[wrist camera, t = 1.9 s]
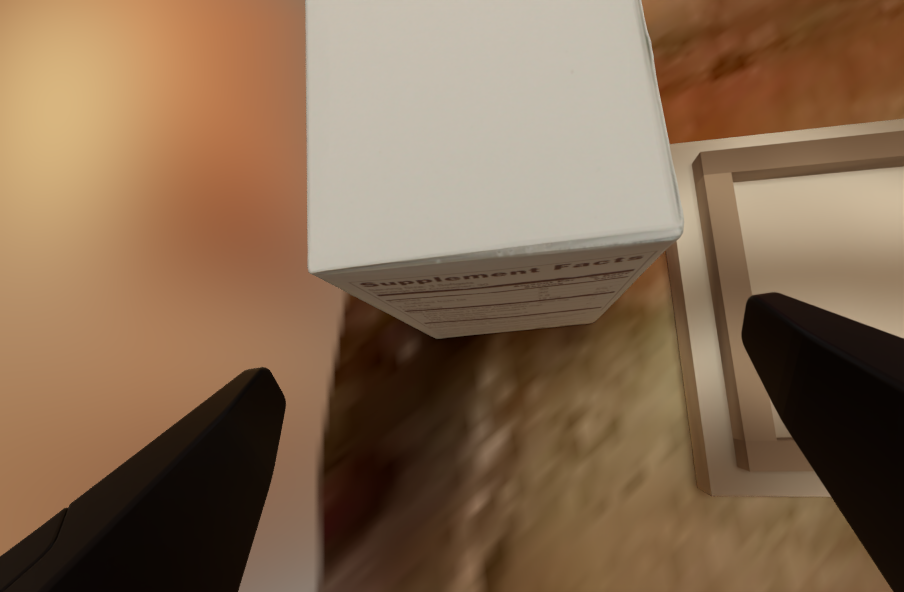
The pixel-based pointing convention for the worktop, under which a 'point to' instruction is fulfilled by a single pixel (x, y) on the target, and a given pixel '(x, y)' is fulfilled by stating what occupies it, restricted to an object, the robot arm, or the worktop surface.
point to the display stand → (777, 277)
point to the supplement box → (485, 159)
